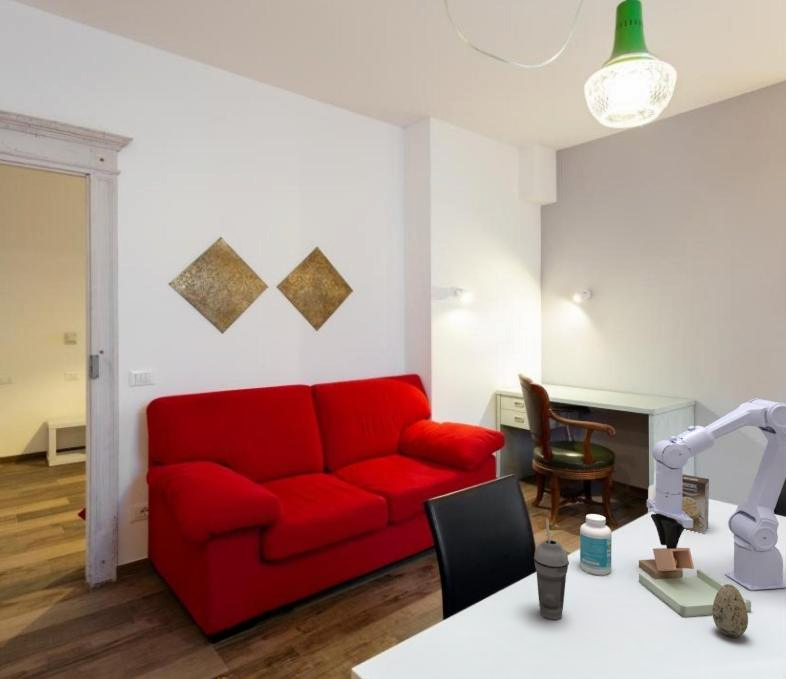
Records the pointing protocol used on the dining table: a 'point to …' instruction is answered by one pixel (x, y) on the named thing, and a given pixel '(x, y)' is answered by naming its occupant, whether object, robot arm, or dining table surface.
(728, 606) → the decorative egg
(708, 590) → the tray
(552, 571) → the beverage cup
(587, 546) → the pill bottle
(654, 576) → the coaster
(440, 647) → the dining table surface
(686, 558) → the brown u-shaped block
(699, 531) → the coffee box
